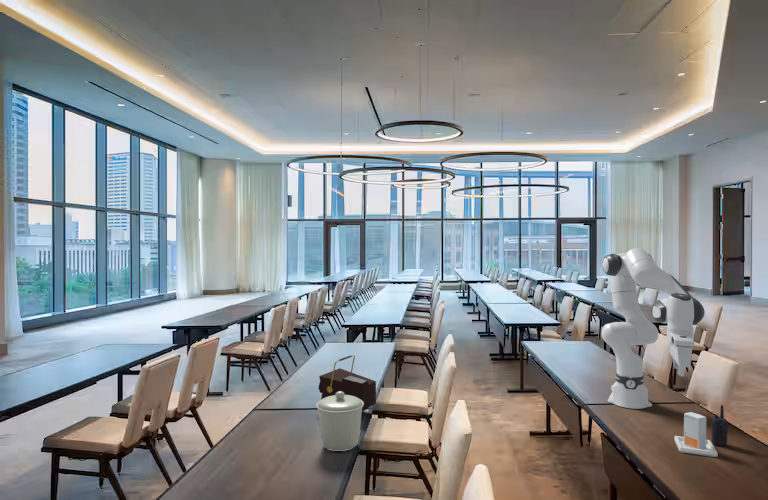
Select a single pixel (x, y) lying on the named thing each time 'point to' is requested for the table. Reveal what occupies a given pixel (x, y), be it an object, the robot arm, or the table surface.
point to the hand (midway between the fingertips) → (678, 372)
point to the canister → (340, 420)
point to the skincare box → (695, 430)
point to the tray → (686, 449)
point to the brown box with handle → (348, 385)
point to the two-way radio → (719, 429)
